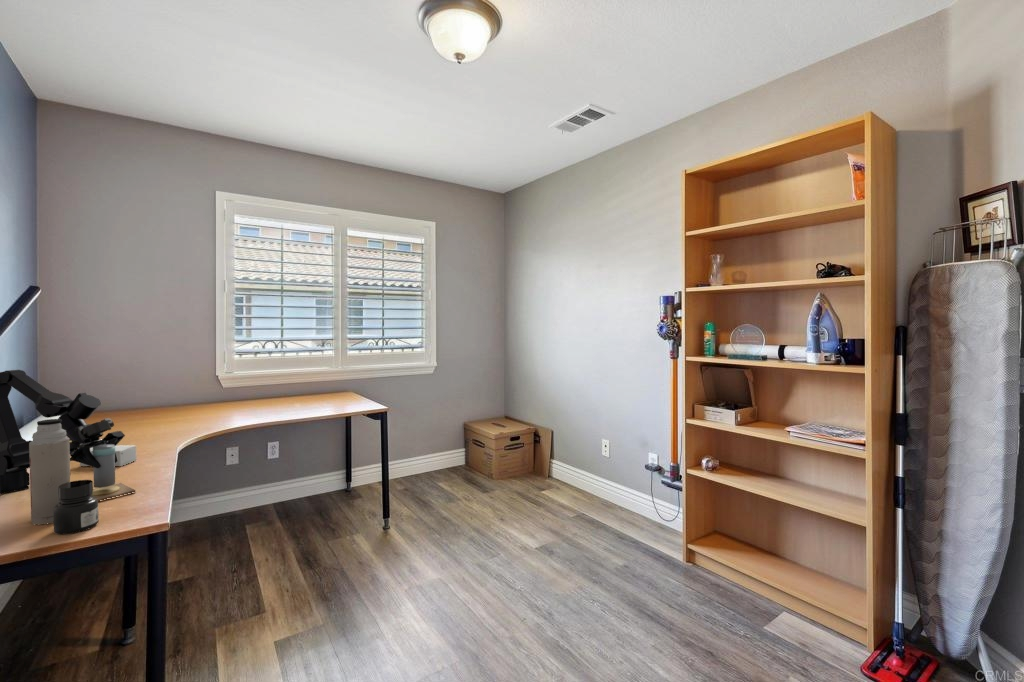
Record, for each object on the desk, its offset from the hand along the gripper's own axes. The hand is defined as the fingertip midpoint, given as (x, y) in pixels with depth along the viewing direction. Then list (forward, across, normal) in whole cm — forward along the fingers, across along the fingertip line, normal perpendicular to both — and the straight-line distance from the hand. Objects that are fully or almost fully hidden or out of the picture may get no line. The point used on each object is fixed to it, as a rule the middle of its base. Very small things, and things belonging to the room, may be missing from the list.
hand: (108, 464), depth 149 cm
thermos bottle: (+8, -18, +6) cm, 21 cm away
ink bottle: (+17, -22, -3) cm, 28 cm away
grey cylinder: (+4, 0, +6) cm, 7 cm away
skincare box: (-23, +28, +32) cm, 49 cm away
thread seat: (+6, 0, +8) cm, 10 cm away
